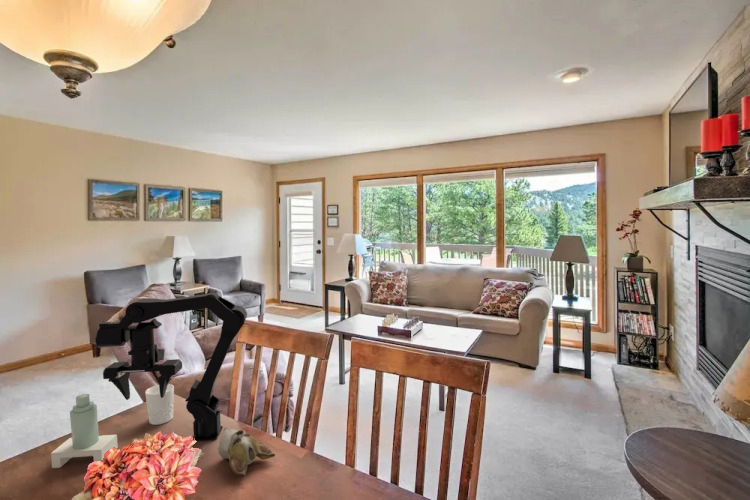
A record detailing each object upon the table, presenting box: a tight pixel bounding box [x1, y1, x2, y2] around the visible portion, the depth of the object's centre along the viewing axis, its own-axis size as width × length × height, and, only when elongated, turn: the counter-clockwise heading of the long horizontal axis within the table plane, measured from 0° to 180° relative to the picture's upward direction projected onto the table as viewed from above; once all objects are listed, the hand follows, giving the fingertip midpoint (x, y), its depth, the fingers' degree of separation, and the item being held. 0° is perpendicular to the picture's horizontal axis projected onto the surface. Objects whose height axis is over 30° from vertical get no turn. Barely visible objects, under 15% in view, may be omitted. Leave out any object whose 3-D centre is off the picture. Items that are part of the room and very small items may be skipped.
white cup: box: [144, 383, 175, 426], centre depth 119 cm, size 8×8×10 cm
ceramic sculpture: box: [217, 427, 276, 477], centre depth 97 cm, size 11×9×15 cm
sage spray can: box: [69, 393, 100, 450], centre depth 99 cm, size 6×6×13 cm
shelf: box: [50, 434, 119, 469], centre depth 100 cm, size 12×7×4 cm, turn 96°
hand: (145, 398), depth 106 cm, fingers open, 9 cm apart
